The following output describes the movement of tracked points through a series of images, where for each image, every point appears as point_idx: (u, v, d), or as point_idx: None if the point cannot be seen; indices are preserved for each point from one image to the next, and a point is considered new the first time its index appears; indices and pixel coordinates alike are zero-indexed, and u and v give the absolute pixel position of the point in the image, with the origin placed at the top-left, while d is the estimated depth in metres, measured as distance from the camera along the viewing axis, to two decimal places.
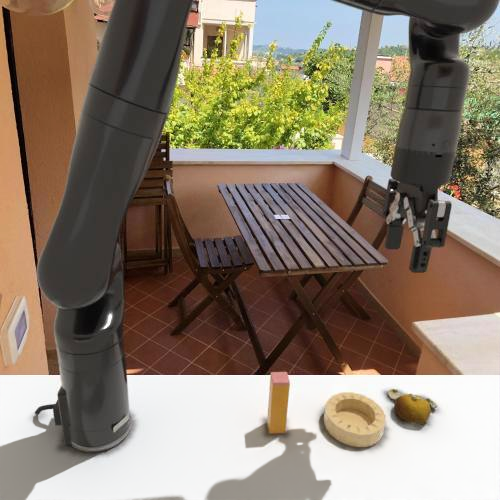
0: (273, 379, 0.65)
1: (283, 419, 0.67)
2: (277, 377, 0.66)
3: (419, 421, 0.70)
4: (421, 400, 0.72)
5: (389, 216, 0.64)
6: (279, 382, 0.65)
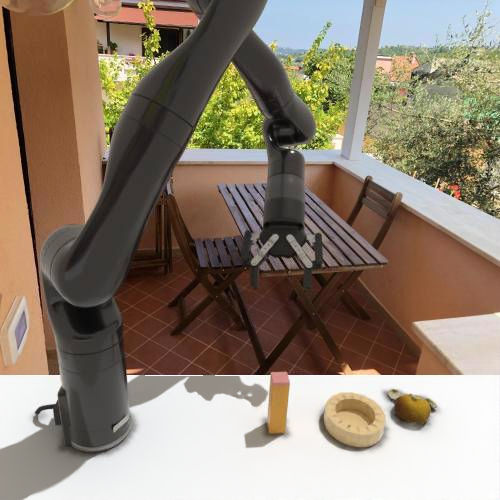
0: (273, 379, 0.65)
1: (283, 419, 0.67)
2: (277, 377, 0.66)
3: (419, 421, 0.70)
4: (421, 400, 0.72)
5: (256, 258, 0.75)
6: (279, 382, 0.65)
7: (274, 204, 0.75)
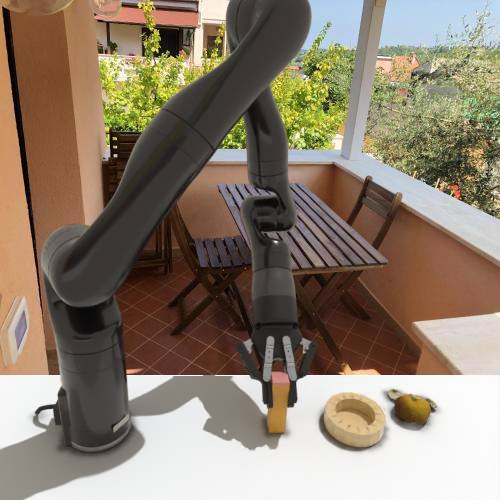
0: (273, 379, 0.65)
1: (283, 419, 0.68)
2: (277, 377, 0.66)
3: (419, 421, 0.70)
4: (421, 400, 0.72)
5: (266, 372, 0.66)
6: (279, 382, 0.65)
7: (267, 303, 0.69)
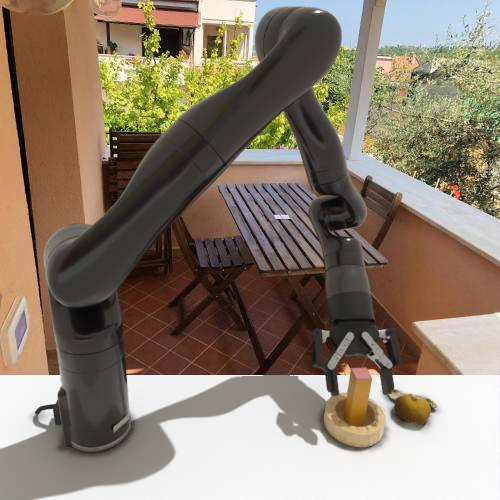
0: (355, 375, 0.67)
1: (362, 414, 0.69)
2: (359, 373, 0.67)
3: (419, 421, 0.70)
4: (421, 400, 0.72)
5: (332, 361, 0.68)
6: (362, 377, 0.66)
7: (346, 299, 0.70)
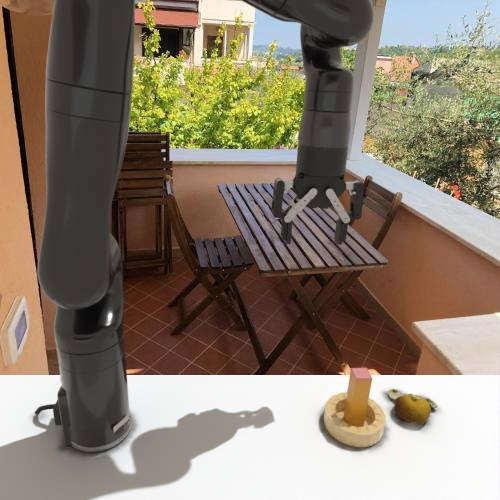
0: (355, 375, 0.67)
1: (362, 414, 0.69)
2: (359, 373, 0.67)
3: (419, 421, 0.70)
4: (421, 400, 0.72)
5: (290, 214, 0.67)
6: (362, 377, 0.66)
7: (316, 156, 0.62)
